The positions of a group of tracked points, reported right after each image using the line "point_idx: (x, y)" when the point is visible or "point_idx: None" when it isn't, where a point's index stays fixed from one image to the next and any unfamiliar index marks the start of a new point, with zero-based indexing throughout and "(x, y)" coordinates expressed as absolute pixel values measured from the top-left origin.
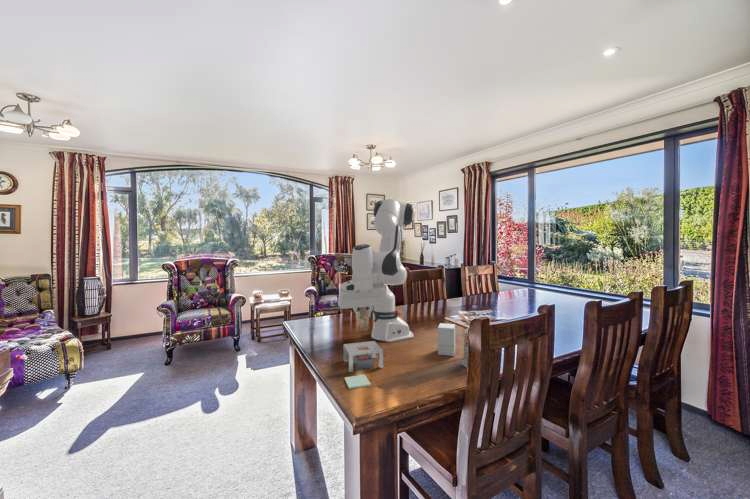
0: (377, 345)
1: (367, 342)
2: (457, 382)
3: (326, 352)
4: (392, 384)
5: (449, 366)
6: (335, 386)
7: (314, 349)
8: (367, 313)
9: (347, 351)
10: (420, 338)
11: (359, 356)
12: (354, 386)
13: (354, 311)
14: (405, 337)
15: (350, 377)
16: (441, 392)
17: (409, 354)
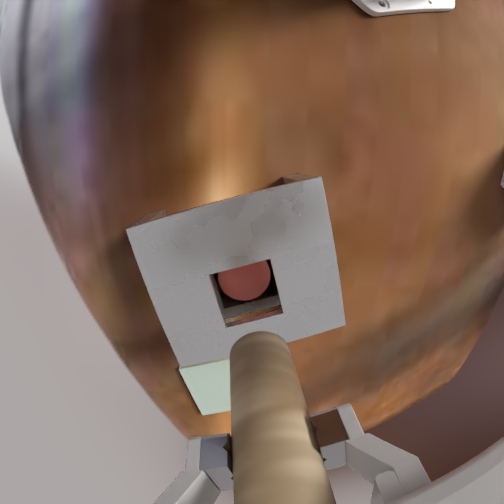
0: (330, 256)
1: (275, 202)
2: (463, 358)
3: (70, 118)
4: (326, 390)
5: (492, 275)
6: (162, 399)
7: (28, 93)
8: (327, 469)
9: (165, 332)
10: (470, 26)
11: (225, 272)
12: (217, 412)
13: (168, 493)
14: (432, 8)
15: (199, 370)
16: (415, 401)
17: (435, 165)
